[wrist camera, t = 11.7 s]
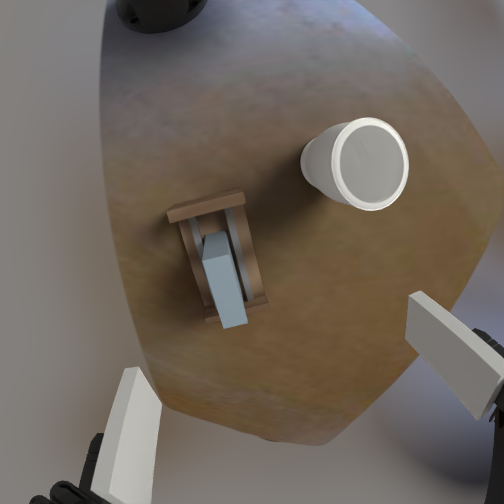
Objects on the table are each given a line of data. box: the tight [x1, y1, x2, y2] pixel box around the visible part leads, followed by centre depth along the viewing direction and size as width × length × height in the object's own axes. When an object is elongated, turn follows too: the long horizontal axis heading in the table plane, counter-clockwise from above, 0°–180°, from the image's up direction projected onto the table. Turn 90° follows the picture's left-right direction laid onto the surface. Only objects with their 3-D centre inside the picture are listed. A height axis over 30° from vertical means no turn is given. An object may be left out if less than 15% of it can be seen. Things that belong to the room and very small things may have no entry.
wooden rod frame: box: [167, 188, 270, 324], centre depth 41 cm, size 18×10×7 cm, turn 13°
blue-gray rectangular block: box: [202, 230, 248, 329], centre depth 38 cm, size 9×3×12 cm, turn 13°
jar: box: [300, 118, 409, 210], centre depth 35 cm, size 11×10×15 cm
